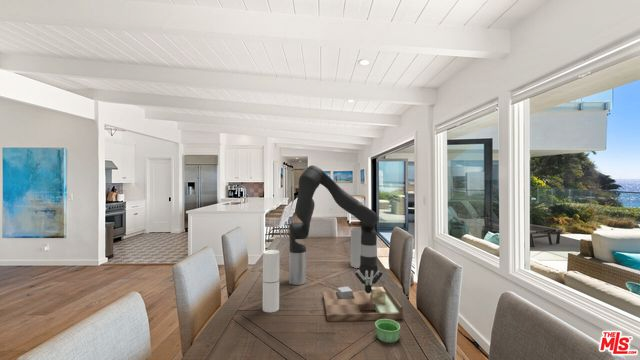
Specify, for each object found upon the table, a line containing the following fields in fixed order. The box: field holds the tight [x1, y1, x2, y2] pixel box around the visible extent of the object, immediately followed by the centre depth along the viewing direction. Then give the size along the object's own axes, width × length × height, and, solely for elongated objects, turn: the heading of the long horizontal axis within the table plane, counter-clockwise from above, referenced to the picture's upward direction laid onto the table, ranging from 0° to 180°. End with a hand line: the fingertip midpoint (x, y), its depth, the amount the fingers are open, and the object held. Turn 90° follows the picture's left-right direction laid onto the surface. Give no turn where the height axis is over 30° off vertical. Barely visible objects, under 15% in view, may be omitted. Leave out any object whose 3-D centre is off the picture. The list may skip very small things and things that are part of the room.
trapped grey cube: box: [336, 286, 354, 299], centre depth 131 cm, size 6×6×6 cm
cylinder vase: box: [350, 226, 361, 269], centre depth 185 cm, size 12×12×25 cm
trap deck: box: [322, 285, 404, 322], centre depth 125 cm, size 31×24×5 cm
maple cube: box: [370, 286, 386, 304], centre depth 125 cm, size 6×6×6 cm
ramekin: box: [374, 319, 401, 343], centre depth 101 cm, size 9×9×4 cm
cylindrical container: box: [262, 249, 280, 313], centre depth 122 cm, size 7×7×25 cm
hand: (368, 292), depth 125 cm, fingers closed
